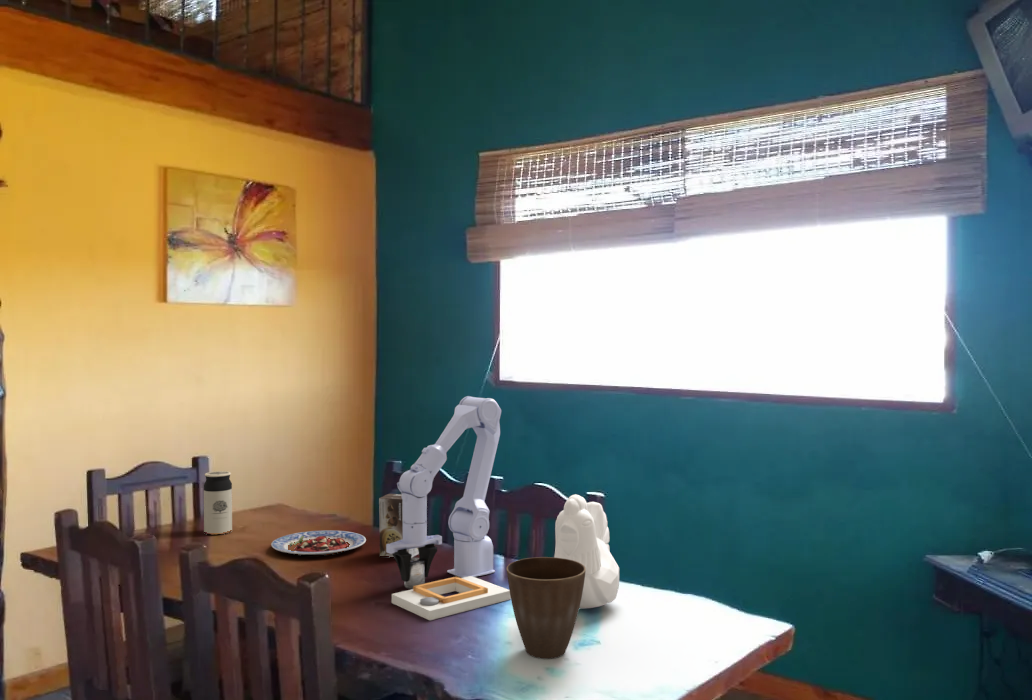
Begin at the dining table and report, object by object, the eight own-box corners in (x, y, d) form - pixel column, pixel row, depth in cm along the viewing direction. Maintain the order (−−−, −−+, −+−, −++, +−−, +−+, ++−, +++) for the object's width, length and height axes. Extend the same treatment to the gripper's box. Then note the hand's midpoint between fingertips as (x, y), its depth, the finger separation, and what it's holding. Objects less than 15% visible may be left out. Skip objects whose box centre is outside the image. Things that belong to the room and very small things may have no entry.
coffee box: (419, 553, 230) (419, 494, 229) (409, 559, 224) (409, 499, 223) (389, 551, 233) (389, 492, 232) (378, 556, 227) (378, 497, 226)
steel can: (417, 581, 204) (417, 556, 204) (428, 586, 200) (428, 560, 200) (400, 585, 201) (400, 559, 201) (411, 590, 197) (411, 564, 197)
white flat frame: (470, 584, 202) (470, 571, 202) (510, 599, 190) (510, 586, 190) (391, 602, 188) (391, 589, 188) (429, 620, 176) (429, 606, 176)
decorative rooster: (592, 623, 174) (592, 504, 174) (529, 609, 184) (530, 495, 183) (648, 593, 194) (648, 486, 194) (589, 581, 204) (590, 479, 203)
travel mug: (205, 530, 257) (205, 471, 256) (233, 529, 259) (232, 470, 258) (202, 536, 249) (202, 475, 249) (230, 535, 251) (230, 474, 250)
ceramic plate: (385, 545, 240) (385, 535, 240) (318, 566, 218) (318, 554, 218) (319, 533, 254) (319, 523, 254) (251, 552, 232) (251, 541, 232)
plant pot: (595, 663, 153) (596, 576, 153) (515, 670, 150) (515, 581, 150) (573, 635, 168) (573, 555, 167) (499, 640, 165) (499, 559, 164)
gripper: (430, 514, 208) (430, 569, 208) (379, 523, 199) (379, 580, 199) (447, 519, 202) (447, 575, 203) (395, 528, 193) (395, 587, 193)
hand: (414, 578), depth 200 cm, fingers closed on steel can, 5 cm apart
